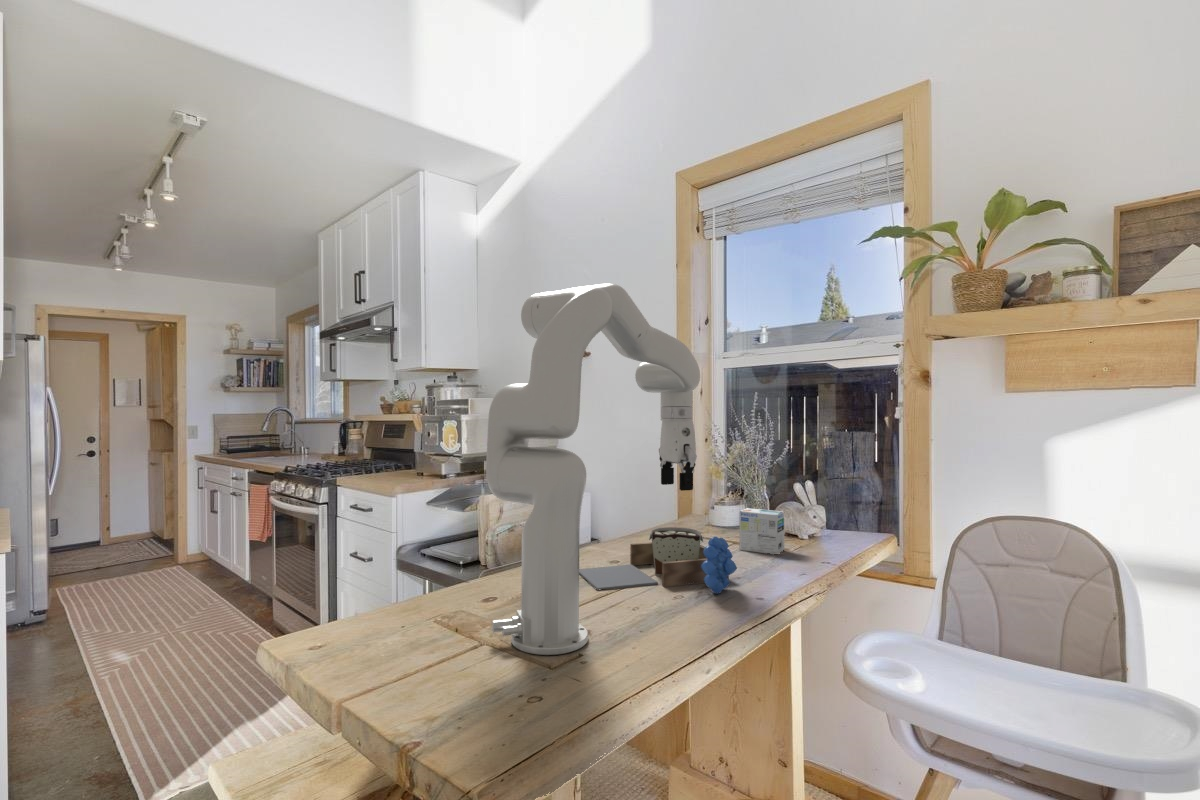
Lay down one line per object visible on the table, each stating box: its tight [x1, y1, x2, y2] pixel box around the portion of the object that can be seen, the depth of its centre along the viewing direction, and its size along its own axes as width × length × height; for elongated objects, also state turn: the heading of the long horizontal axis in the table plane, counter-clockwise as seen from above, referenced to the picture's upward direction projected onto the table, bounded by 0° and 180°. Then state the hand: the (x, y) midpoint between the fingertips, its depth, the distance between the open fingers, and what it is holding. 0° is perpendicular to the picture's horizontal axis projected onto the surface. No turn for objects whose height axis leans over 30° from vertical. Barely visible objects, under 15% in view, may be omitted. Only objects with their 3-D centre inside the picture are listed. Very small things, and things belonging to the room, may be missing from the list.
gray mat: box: [579, 564, 659, 591], centre depth 133 cm, size 14×15×1 cm
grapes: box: [701, 536, 738, 594], centre depth 122 cm, size 12×7×12 cm, turn 144°
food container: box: [648, 526, 704, 576], centre depth 138 cm, size 12×6×10 cm, turn 84°
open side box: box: [629, 541, 730, 588], centre depth 139 cm, size 16×19×5 cm
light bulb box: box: [738, 507, 785, 555], centre depth 160 cm, size 11×7×11 cm, turn 58°
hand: (676, 487), depth 139 cm, fingers open, 9 cm apart
